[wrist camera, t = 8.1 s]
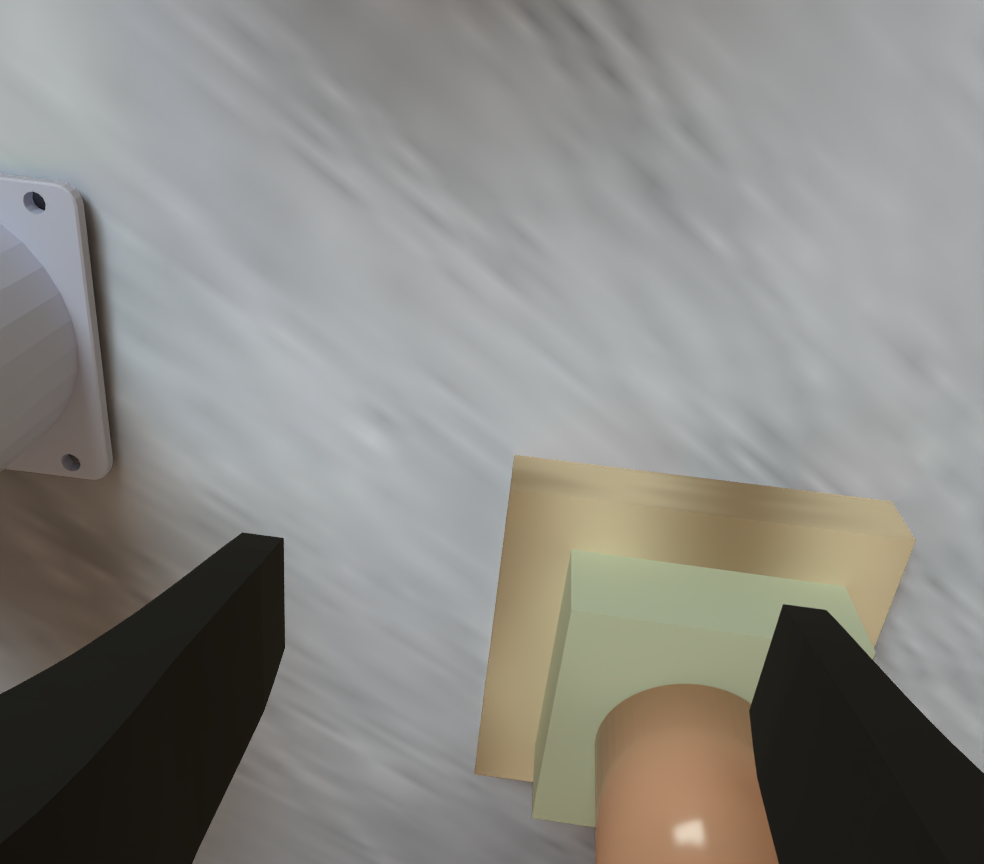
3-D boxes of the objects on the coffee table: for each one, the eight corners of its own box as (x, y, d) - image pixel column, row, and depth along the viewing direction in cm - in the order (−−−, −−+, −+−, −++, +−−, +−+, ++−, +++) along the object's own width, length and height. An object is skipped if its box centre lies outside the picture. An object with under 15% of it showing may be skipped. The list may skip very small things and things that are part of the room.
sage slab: (534, 746, 26) (531, 818, 23) (571, 548, 22) (571, 610, 20) (774, 780, 26) (793, 855, 23) (845, 586, 22) (876, 652, 20)
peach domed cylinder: (582, 797, 23) (582, 971, 19) (609, 671, 21) (614, 838, 17) (751, 821, 23) (786, 1001, 19) (795, 697, 21) (845, 872, 17)
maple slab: (481, 712, 29) (474, 774, 26) (515, 442, 24) (510, 489, 22) (789, 752, 28) (808, 817, 26) (883, 488, 24) (915, 540, 22)
